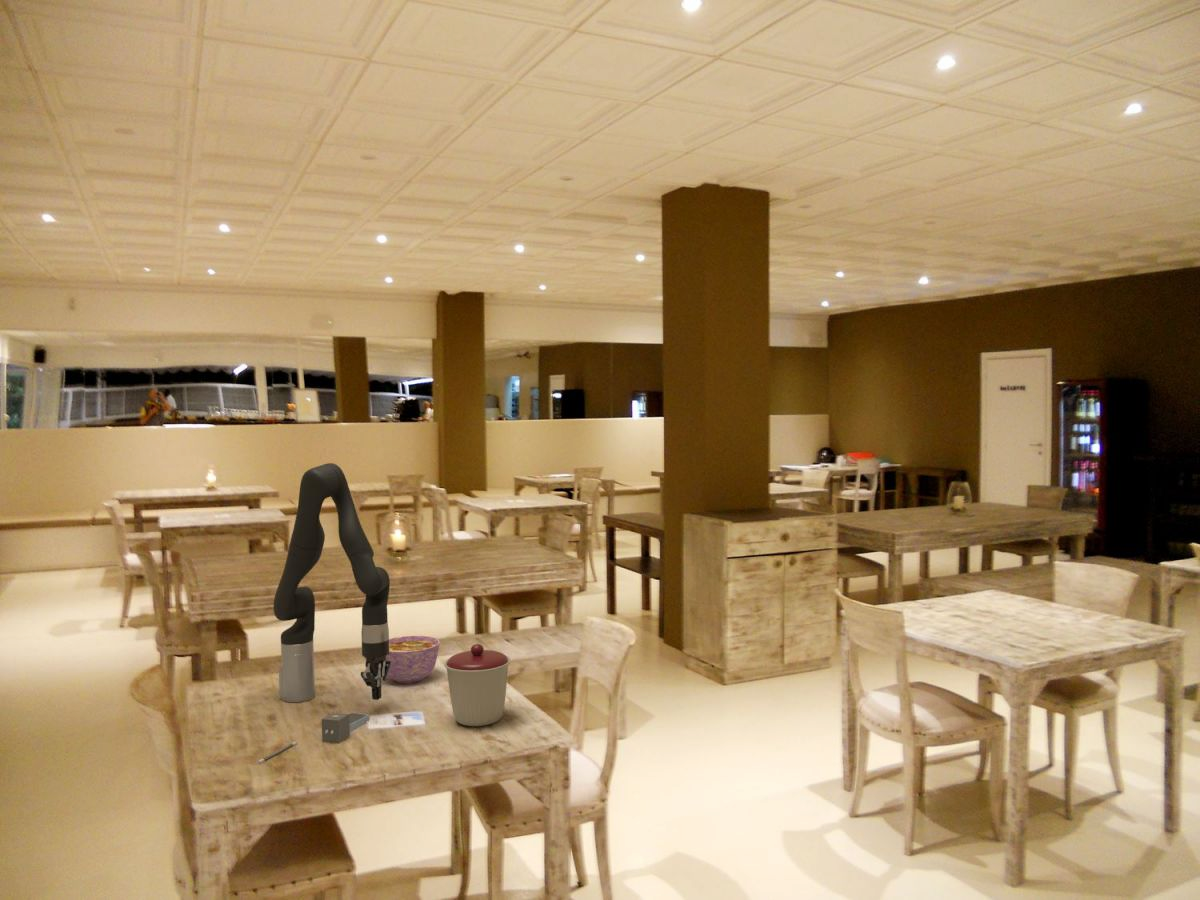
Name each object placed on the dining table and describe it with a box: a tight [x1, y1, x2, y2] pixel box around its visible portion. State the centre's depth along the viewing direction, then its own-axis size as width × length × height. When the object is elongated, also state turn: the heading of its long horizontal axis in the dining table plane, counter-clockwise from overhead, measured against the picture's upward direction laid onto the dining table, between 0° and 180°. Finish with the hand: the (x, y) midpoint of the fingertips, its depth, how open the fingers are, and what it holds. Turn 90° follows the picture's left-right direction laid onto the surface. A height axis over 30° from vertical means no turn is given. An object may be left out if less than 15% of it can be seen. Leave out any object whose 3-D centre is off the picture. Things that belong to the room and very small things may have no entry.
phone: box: [348, 711, 371, 732], centre depth 233 cm, size 6×11×2 cm, turn 158°
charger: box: [321, 712, 351, 744], centre depth 223 cm, size 5×6×6 cm
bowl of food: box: [386, 635, 441, 684], centre depth 274 cm, size 20×20×12 cm
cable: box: [258, 741, 297, 764], centre depth 214 cm, size 13×1×1 cm, turn 160°
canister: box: [443, 643, 511, 727], centre depth 235 cm, size 18×18×21 cm
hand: (376, 698), depth 244 cm, fingers closed
